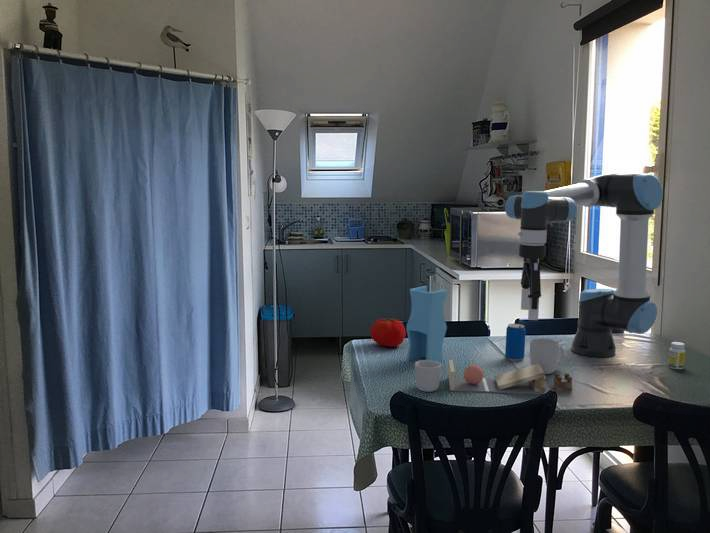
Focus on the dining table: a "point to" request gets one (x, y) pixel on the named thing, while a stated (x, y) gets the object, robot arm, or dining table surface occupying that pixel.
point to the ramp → (523, 378)
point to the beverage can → (515, 342)
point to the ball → (473, 374)
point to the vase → (426, 324)
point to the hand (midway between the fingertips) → (529, 314)
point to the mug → (546, 354)
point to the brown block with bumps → (562, 382)
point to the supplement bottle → (676, 355)
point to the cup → (427, 375)
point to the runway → (488, 385)
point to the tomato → (388, 332)
